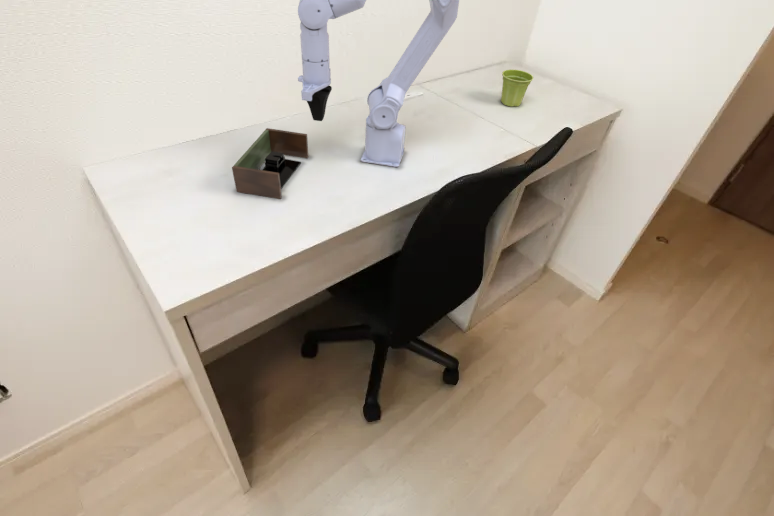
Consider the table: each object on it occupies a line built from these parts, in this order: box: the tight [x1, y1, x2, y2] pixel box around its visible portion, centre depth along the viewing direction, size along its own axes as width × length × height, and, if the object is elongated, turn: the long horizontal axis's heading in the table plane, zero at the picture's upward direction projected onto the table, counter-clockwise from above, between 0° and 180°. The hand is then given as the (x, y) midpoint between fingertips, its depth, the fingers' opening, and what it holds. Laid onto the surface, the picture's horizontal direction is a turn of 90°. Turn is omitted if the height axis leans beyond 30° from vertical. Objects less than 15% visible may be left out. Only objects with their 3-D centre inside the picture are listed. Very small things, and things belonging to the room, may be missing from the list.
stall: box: [231, 127, 310, 200], centre depth 100 cm, size 10×19×6 cm, turn 169°
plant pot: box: [500, 69, 534, 107], centre depth 137 cm, size 9×9×9 cm
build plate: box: [261, 151, 302, 190], centre depth 100 cm, size 12×7×5 cm, turn 166°
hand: (318, 119), depth 102 cm, fingers closed
